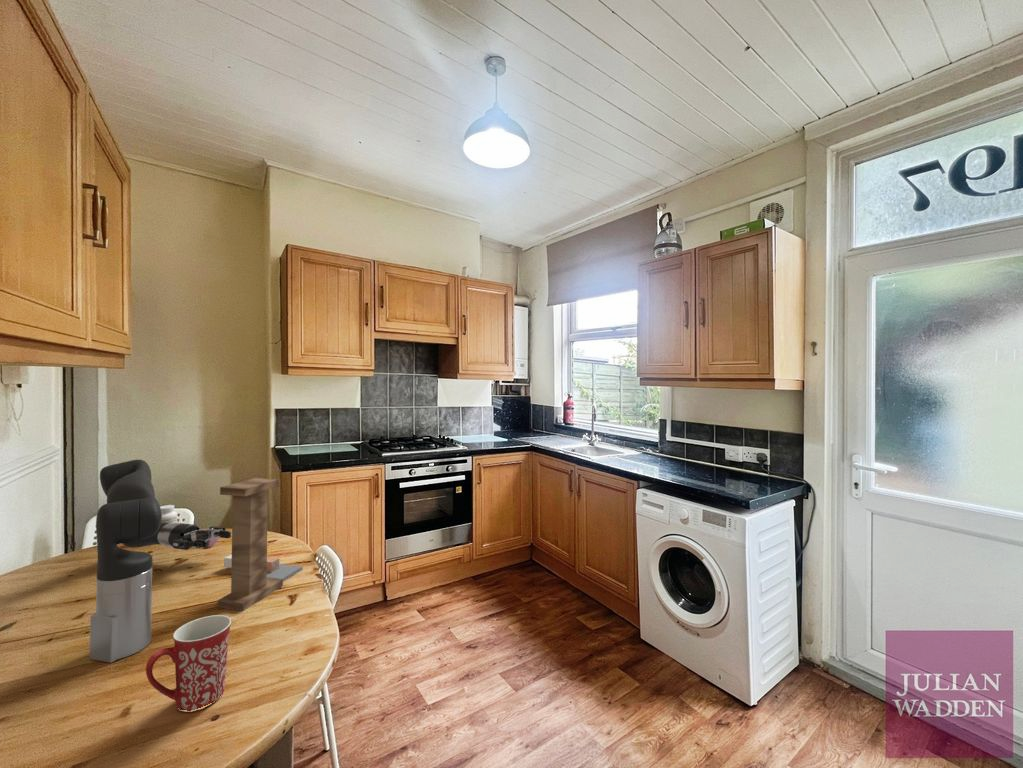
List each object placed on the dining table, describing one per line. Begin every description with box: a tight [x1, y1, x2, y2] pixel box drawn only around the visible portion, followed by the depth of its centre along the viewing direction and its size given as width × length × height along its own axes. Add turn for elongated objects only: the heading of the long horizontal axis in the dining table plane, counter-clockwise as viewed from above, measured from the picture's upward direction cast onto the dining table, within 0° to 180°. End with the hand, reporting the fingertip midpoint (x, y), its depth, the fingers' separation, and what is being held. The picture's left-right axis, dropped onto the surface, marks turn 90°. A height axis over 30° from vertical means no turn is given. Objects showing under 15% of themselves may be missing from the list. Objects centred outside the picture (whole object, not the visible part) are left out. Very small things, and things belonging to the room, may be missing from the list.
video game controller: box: [203, 527, 219, 548], centre depth 154 cm, size 10×5×7 cm, turn 85°
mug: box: [145, 614, 232, 711], centre depth 77 cm, size 13×9×14 cm
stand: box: [217, 477, 284, 612], centre depth 117 cm, size 14×9×32 cm, turn 168°
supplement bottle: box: [160, 504, 178, 523], centre depth 159 cm, size 7×7×13 cm
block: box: [223, 553, 280, 573], centre depth 133 cm, size 3×18×3 cm, turn 79°
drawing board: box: [267, 563, 304, 582], centre depth 131 cm, size 9×16×1 cm, turn 78°
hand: (218, 539), depth 135 cm, fingers open, 8 cm apart
